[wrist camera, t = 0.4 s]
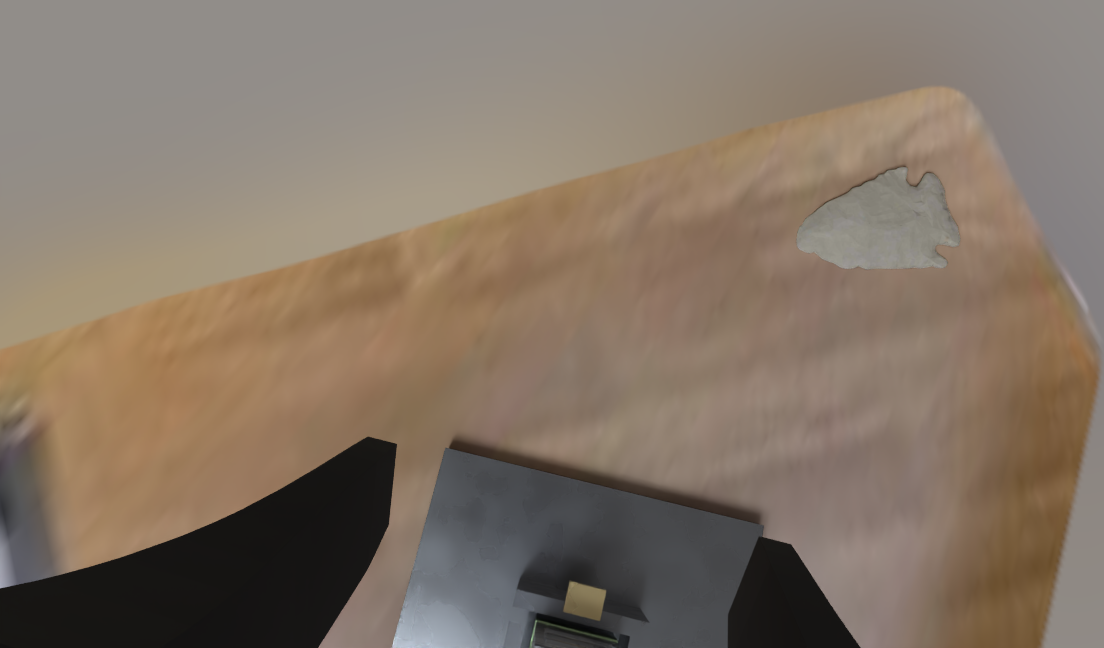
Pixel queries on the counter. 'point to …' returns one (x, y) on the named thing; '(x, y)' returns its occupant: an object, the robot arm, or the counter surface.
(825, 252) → the arrowhead
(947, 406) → the counter surface
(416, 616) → the stand base
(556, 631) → the column
